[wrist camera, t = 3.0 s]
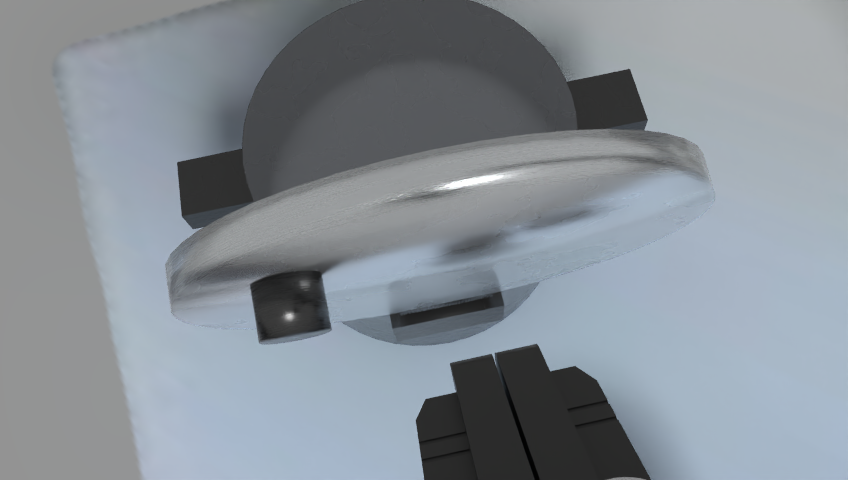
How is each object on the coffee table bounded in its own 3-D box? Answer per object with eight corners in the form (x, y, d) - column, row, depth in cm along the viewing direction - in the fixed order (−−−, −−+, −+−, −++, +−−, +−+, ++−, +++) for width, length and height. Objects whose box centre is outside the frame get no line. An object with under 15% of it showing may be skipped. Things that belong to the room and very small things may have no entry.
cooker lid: (629, 237, 35) (646, 301, 34) (250, 316, 35) (260, 382, 34) (802, 68, 18) (843, 190, 17) (52, 223, 18) (67, 353, 17)
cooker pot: (659, 324, 44) (707, 260, 35) (249, 410, 44) (186, 369, 34) (576, 63, 50) (597, -49, 41) (218, 137, 50) (159, 41, 41)
